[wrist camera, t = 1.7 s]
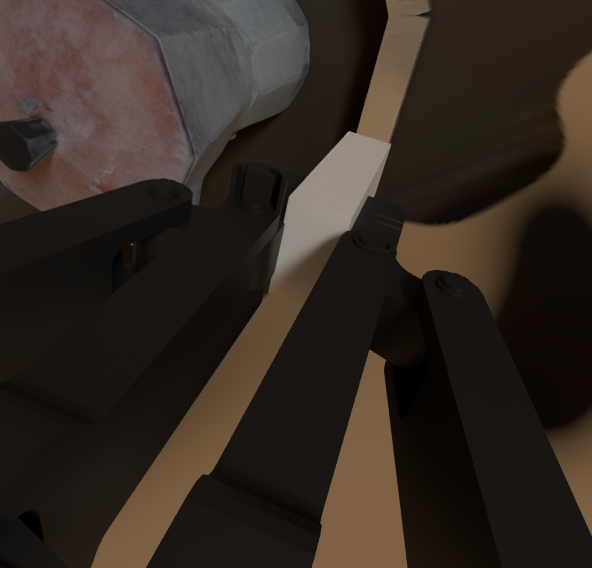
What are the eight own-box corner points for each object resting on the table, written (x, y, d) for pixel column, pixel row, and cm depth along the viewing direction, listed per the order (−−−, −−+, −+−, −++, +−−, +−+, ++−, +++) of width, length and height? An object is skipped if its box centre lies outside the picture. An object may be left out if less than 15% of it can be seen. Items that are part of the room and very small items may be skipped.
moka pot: (261, 183, 34) (75, 354, 18) (114, -10, 31) (-289, -15, 14) (369, 103, 29) (245, 239, 13) (210, -141, 26) (-244, -376, 9)
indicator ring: (-224, -432, 25) (-362, -516, 20) (538, -313, 19) (556, -395, 15) (-75, 156, 43) (-132, 173, 39) (338, 303, 37) (322, 341, 33)
